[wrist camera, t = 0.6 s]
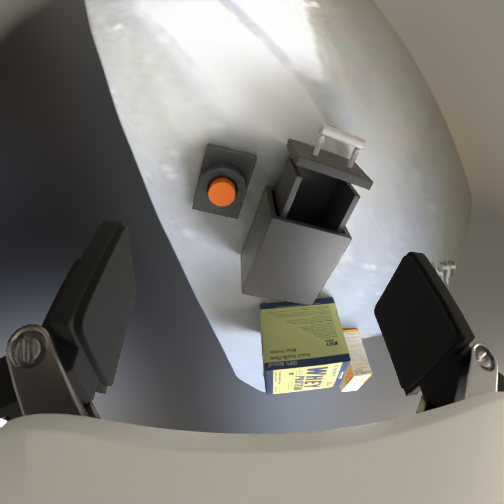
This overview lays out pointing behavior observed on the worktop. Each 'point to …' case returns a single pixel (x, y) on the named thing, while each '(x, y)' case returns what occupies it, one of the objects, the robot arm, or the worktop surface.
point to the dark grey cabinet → (288, 256)
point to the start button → (222, 191)
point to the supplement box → (355, 362)
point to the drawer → (320, 182)
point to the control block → (228, 166)
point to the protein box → (302, 346)
